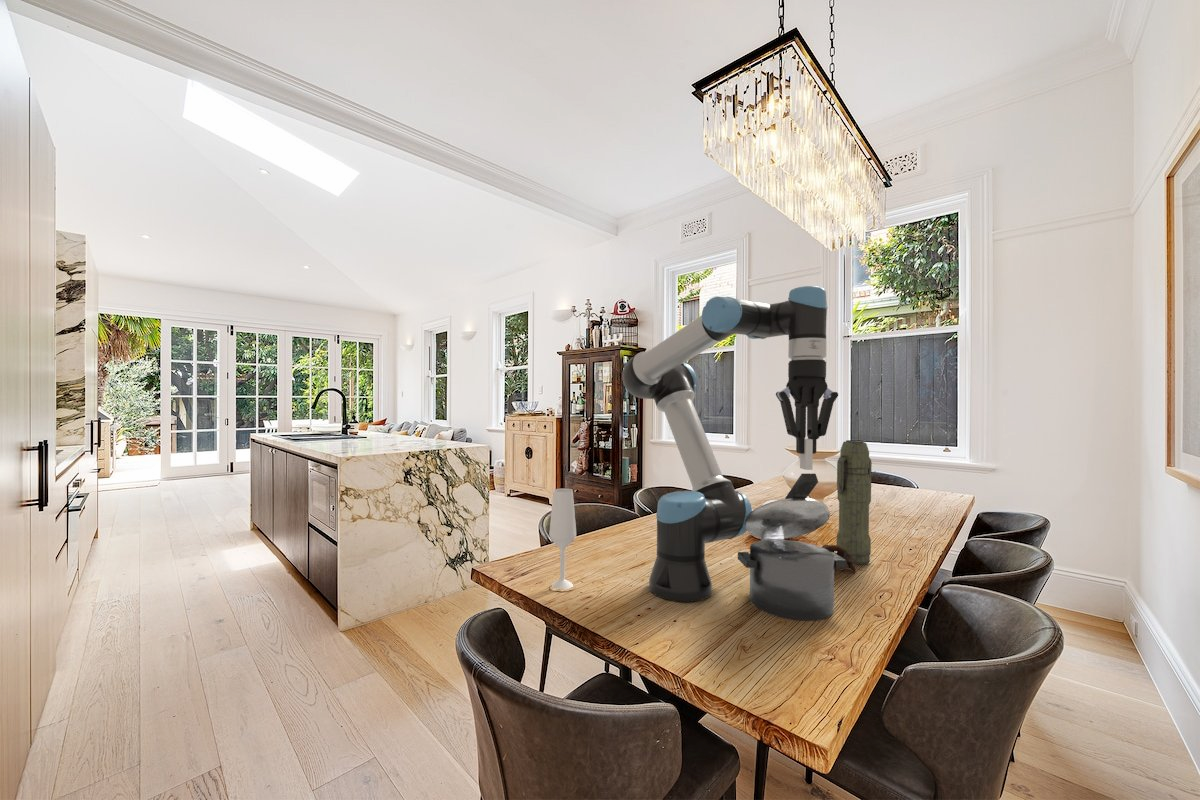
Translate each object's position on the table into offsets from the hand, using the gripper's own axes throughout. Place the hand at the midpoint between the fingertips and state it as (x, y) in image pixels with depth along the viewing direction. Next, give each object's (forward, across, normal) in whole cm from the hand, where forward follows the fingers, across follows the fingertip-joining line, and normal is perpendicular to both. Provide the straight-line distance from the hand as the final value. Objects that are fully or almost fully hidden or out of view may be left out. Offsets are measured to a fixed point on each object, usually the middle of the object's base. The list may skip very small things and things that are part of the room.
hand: (806, 468), depth 104 cm
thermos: (+32, +32, +37) cm, 58 cm away
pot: (+32, 0, +9) cm, 33 cm away
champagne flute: (+32, -53, +17) cm, 64 cm away
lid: (+12, 0, +7) cm, 13 cm away
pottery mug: (+32, +21, +28) cm, 48 cm away
